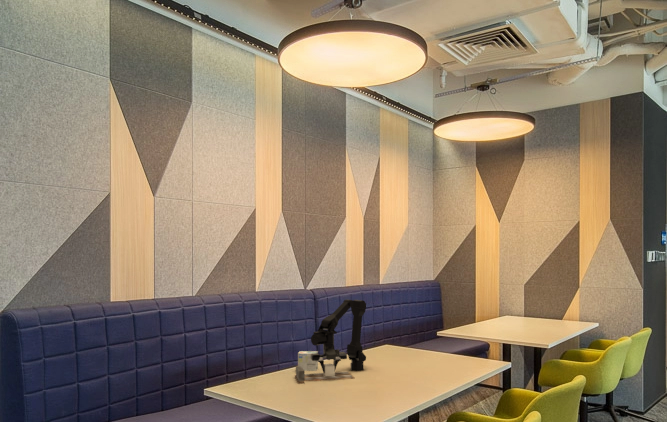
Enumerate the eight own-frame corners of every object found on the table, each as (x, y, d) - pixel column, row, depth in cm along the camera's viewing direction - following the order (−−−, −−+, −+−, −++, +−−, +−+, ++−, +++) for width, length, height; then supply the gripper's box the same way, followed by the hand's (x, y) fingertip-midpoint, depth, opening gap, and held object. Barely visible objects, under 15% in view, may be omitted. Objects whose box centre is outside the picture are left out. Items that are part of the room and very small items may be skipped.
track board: (349, 374, 284) (348, 363, 285) (355, 380, 270) (354, 368, 271) (294, 377, 278) (294, 365, 279) (298, 383, 265) (298, 371, 265)
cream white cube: (332, 375, 278) (332, 363, 279) (334, 377, 272) (334, 366, 273) (323, 375, 277) (323, 364, 278) (325, 378, 272) (325, 366, 272)
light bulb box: (318, 370, 295) (318, 350, 295) (316, 372, 288) (316, 353, 289) (299, 369, 296) (299, 350, 296) (297, 372, 289) (297, 353, 290)
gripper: (313, 346, 266) (314, 377, 265) (349, 344, 270) (349, 375, 269) (310, 342, 277) (310, 372, 276) (344, 341, 281) (344, 370, 280)
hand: (328, 372), depth 275 cm, fingers closed on cream white cube, 5 cm apart
